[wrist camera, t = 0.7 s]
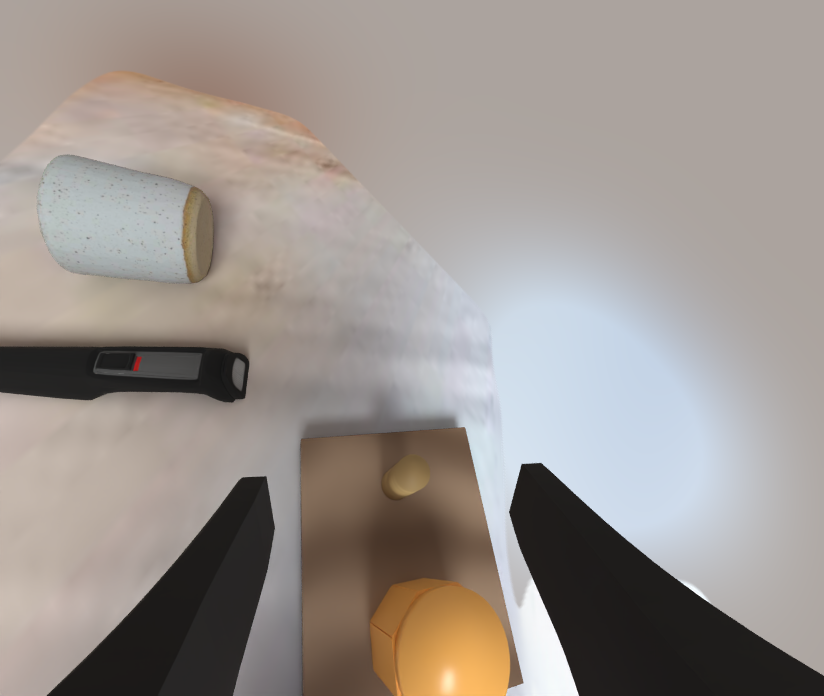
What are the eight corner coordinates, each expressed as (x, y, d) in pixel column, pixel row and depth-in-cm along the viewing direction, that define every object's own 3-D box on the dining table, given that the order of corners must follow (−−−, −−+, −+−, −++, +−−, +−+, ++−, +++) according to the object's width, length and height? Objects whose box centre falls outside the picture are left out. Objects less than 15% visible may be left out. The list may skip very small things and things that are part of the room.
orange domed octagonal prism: (464, 678, 20) (524, 717, 15) (376, 707, 18) (410, 762, 13) (446, 573, 22) (492, 576, 17) (367, 590, 20) (392, 599, 16)
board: (509, 676, 22) (568, 706, 17) (303, 747, 18) (309, 810, 13) (457, 433, 29) (489, 409, 24) (300, 445, 25) (303, 419, 20)
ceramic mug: (208, 305, 28) (185, 228, 22) (77, 296, 25) (9, 206, 19) (226, 213, 33) (212, 130, 27) (119, 197, 31) (77, 101, 24)
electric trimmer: (-17, 348, 23) (-58, 321, 20) (250, 359, 27) (246, 337, 24) (-48, 405, 21) (-97, 383, 18) (244, 406, 25) (239, 388, 23)
